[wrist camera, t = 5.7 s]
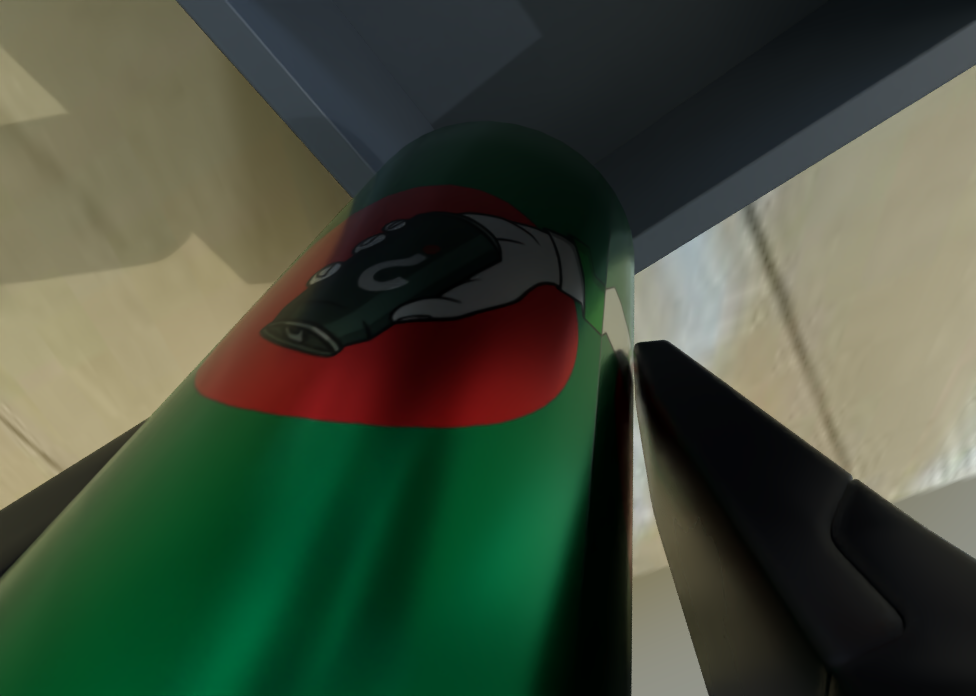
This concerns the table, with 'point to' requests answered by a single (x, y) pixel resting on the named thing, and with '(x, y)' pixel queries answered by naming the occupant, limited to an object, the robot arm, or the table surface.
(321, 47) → the bin
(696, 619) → the robot arm
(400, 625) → the soda can
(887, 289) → the table surface
